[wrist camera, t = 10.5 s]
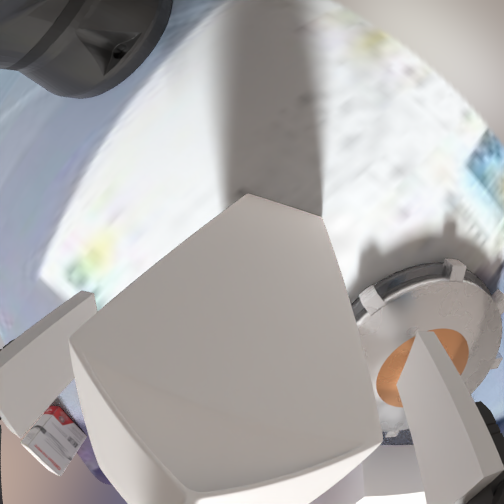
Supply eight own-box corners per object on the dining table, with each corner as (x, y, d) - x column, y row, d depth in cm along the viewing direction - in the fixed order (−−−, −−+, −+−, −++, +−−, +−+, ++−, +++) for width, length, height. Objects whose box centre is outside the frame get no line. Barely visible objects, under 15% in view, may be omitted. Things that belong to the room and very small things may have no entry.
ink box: (48, 404, 40) (17, 441, 29) (59, 405, 39) (26, 445, 28) (76, 435, 42) (49, 472, 31) (88, 437, 41) (60, 477, 30)
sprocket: (294, 306, 23) (290, 360, 17) (500, 235, 18) (547, 262, 12) (340, 439, 28) (342, 486, 21) (488, 387, 23) (509, 424, 16)
